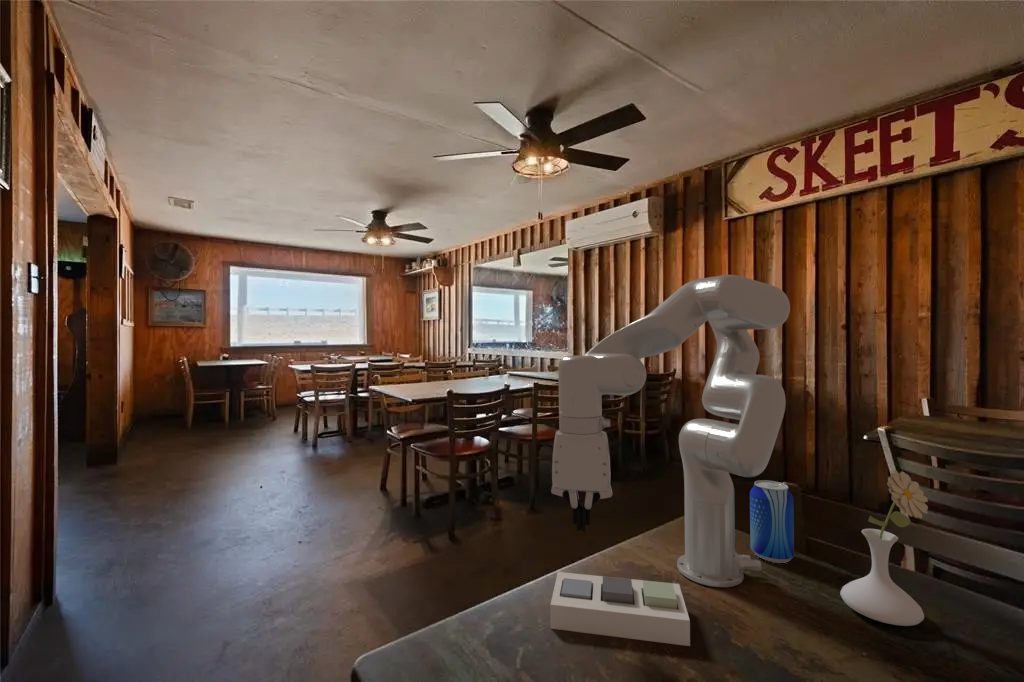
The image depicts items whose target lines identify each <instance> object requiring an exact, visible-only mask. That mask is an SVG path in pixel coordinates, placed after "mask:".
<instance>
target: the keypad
mask: <svg viewBox="0 0 1024 682" xmlns="http://www.w3.org/2000/svg"><path fill="white" fill-rule="evenodd" d="M603 577H605V576H602V575H593V574H592V575H591V574H583V573H572V572H563V571H557V574H556V577H555V578H556V579H555V584H554V588H553V592H552V595H551V601H550V629H553V630H558V631H559V630H561V631H568V632H576V633H583V634H591V635H600V636H607V637H615V638H623V639H631V640H639V641H646V642H655V643H661V644H669V645H670V644H671V645H677V646H686V647H691V622H690V621H691V620H690V617H689V613H688V610H687V606H686V602H685V600H684V596H683V593H682V590H681V586H680V583H673V582H672V583H673V587H674V590H675V594H676V598H677V609H668V608H659V607H650V606H644V600H643V581H645V580H643V579H635V578H634V579H631V578H630V579H631V581H632V591H633V605H632V604H623V603H614V602H605V601H603V598H602V589H603ZM612 577H613V576H612ZM564 578H568V579H577V580H587V581H592V600H587V599H578V598H569V597H561V592H562V586H563V581H564ZM613 578H615V577H613ZM622 578H623V577H622ZM623 579H625V578H623ZM652 581H653V580H652ZM653 582H655V581H653ZM662 582H663V581H662ZM663 583H665V582H663Z"/></svg>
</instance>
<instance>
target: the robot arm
mask: <svg viewBox="0 0 1024 682" xmlns="http://www.w3.org/2000/svg"><path fill="white" fill-rule="evenodd" d="M790 312H791V302H790V300H789V298H788V296H787V294H786V293H785V292H784V290H782V289H781V288H779V287H777V286H775V285H773V284H769V283H766V282H761V281H758V280H756V279H755V280H754V279H752V278H748V277H745V276H740V275H736V274H721V275H717V276H709V277H704V278H703V277H702V278H698V279H694V280H690V281H688V282H686V283H685V284H683V285H682V286H681V287H679V288H678V289H677V290H676V291H674V292H673V293H672V294H671V295H670V296H668V298H667V299H665V300H664V301H663V302H661V304H660V305H658V306H657V307H655V308H654V309H653V310H652V311H650V313H648V314H647V315H644V316H643V317H641V318H639V319H637V320H635V321H633V322H631V323H629V324H628V325H626V326H623V327H622V328H620V329H618V330H616V331H614V332H612V333H611V334H609V335H608V336H606V337H605V338H603V339H601V340H600V341H599V342H598V343H596V345H594V346H593V347H592V348H590V349H589V350H588V351H587V352H585V354H584V355H566V356H563V357H561V358H560V360H559V361H558V369H557V370H558V372H557V373H558V374H557V375H558V420H559V421H558V423H559V424H558V425H559V428H558V429H559V430H556V431H555V436H554V441H553V450H552V465H551V466H552V469H551V473H552V474H551V480H552V481H551V482H552V484H551V485H552V486H551V489H550V492H551V494H552V495H556V496H559V497H562V498H564V499H565V500H566V501H567V503H569V505H570V507H571V508H572V524H573V525H576V532H581V531H582V532H585V533H586V532H587V528H588V526H591V523H592V522H591V520H592V518H591V509H592V506H594V505H595V504H596V503H597V502H598V501H599V500H601V499H602V500H603V499H608V498H611V497H612V496H613V489H612V486H611V479H612V478H611V477H612V476H611V474H612V473H611V456H610V446H609V438H608V434H607V432H606V431H603V430H604V429H605V428H610V427H611V419H609V418H608V419H607V418H604V416H603V414H602V413H603V407H602V403H603V401H602V400H603V399H602V396H603V395H614V396H630V395H633V394H635V393H638V392H639V391H640V390H641V389H642V388H643V387H644V385H645V383H646V380H647V370H646V366H645V364H644V363H643V362H642V361H641V360H640V359H644V358H648V357H651V356H657V355H660V354H661V355H662V354H664V353H667V352H670V351H672V350H675V349H677V348H678V347H680V346H681V345H682V344H683V343H684V342H685V341H687V339H689V338H690V337H691V336H692V335H693V334H694V333H695V332H696V331H697V330H698V329H699V328H700V327H702V326H703V325H704V324H705V323H706V322H708V324H709V325H710V327H711V329H712V332H713V334H714V338H715V341H716V352H715V356H714V359H713V364H712V365H711V368H710V371H709V374H708V375H707V379H706V383H705V385H704V387H703V393H702V397H701V402H702V406H703V408H704V409H705V410H706V411H707V412H708V413H710V414H712V415H714V416H717V417H722V418H727V419H732V420H739V423H731V422H727V421H721V420H715V419H709V418H695V419H691V420H688V421H687V422H685V423H684V425H683V426H682V427H681V430H680V431H679V435H678V447H679V453H680V457H681V461H682V468H683V480H684V481H683V482H684V484H683V485H684V496H683V497H684V554H683V555H681V556H679V557H678V558H677V560H676V561H677V562H676V563H677V564H676V566H677V570H678V571H679V573H681V575H682V576H684V577H686V578H687V579H688V580H690V581H692V582H695V583H698V584H700V585H703V586H708V587H713V588H714V587H715V588H730V587H735V586H738V585H739V584H741V583H742V582H743V581H744V578H745V577H744V571H745V570H752V571H758V572H759V571H762V569H763V568H762V563H761V559H751V556H750V555H749V554H738V553H737V552H736V547H735V546H736V545H735V544H736V543H735V542H736V541H735V538H736V537H735V536H736V532H735V531H736V529H735V525H736V524H735V521H736V519H735V488H734V487H735V486H734V483H733V480H732V477H731V475H730V474H732V475H736V476H740V477H744V478H755V477H757V476H759V475H760V474H762V473H763V472H764V470H765V469H766V468H767V466H768V464H769V461H770V459H771V456H772V453H773V450H774V447H775V445H776V440H777V438H778V434H779V432H780V429H781V426H782V423H783V422H782V421H783V419H784V415H785V411H786V404H787V403H786V401H787V400H786V394H785V390H784V387H783V385H782V384H781V383H780V382H779V381H778V380H777V379H775V378H774V377H771V376H769V375H764V374H757V370H758V367H759V364H760V351H759V348H758V347H757V344H756V342H755V341H754V339H753V338H752V336H751V335H750V333H749V331H750V330H772V329H775V328H778V327H780V326H782V325H784V323H785V322H786V321H787V320H788V319H789V315H790ZM748 330H749V331H748ZM578 492H585V500H583V503H581V500H580V498H579V493H578Z"/></svg>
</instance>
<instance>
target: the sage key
mask: <svg viewBox="0 0 1024 682" xmlns="http://www.w3.org/2000/svg"><path fill="white" fill-rule="evenodd" d="M643 600H644V606H650V607H659V608H668V609H677V598H676V594H675V590H674V587H673V582H672V583H671V582H664V583H663V581H654V582H653V580H644V581H643Z"/></svg>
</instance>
